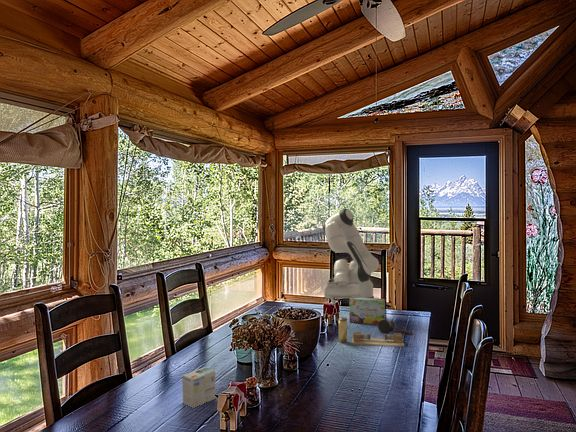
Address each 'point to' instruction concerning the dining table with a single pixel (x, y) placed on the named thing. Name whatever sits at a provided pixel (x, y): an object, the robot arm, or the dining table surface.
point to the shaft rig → (377, 340)
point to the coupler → (342, 330)
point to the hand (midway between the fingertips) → (342, 303)
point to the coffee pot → (389, 327)
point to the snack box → (367, 310)
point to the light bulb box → (198, 387)
